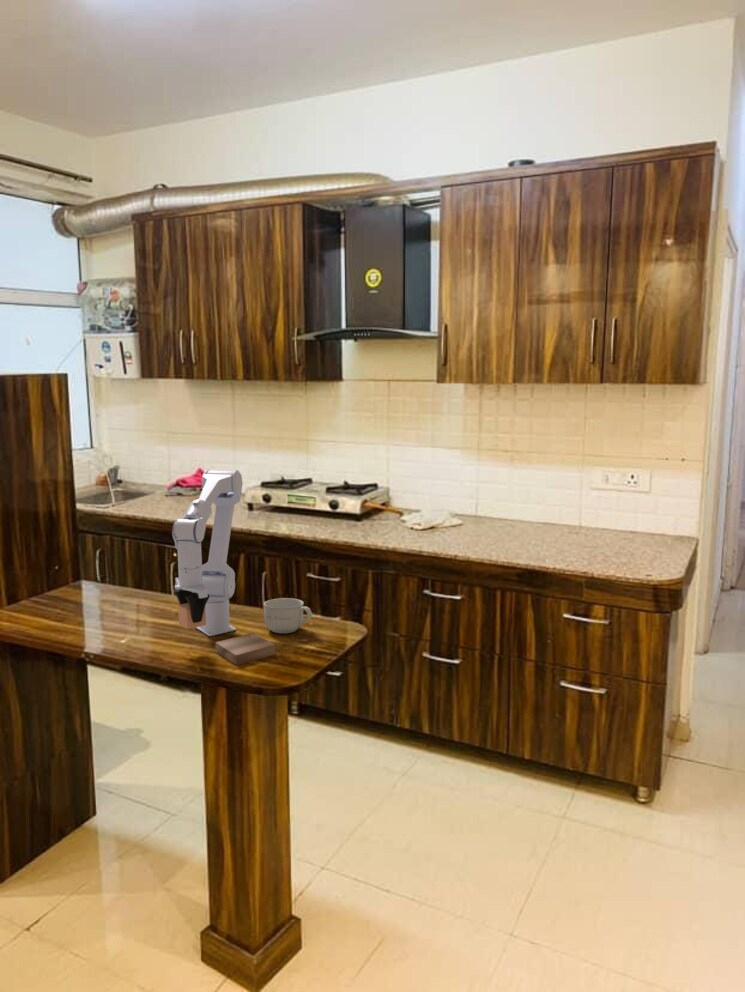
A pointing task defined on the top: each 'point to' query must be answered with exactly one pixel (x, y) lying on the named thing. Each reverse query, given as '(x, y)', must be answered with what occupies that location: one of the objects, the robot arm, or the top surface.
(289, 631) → the teacup
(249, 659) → the walnut slab
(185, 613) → the terracotta block
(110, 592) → the top surface
